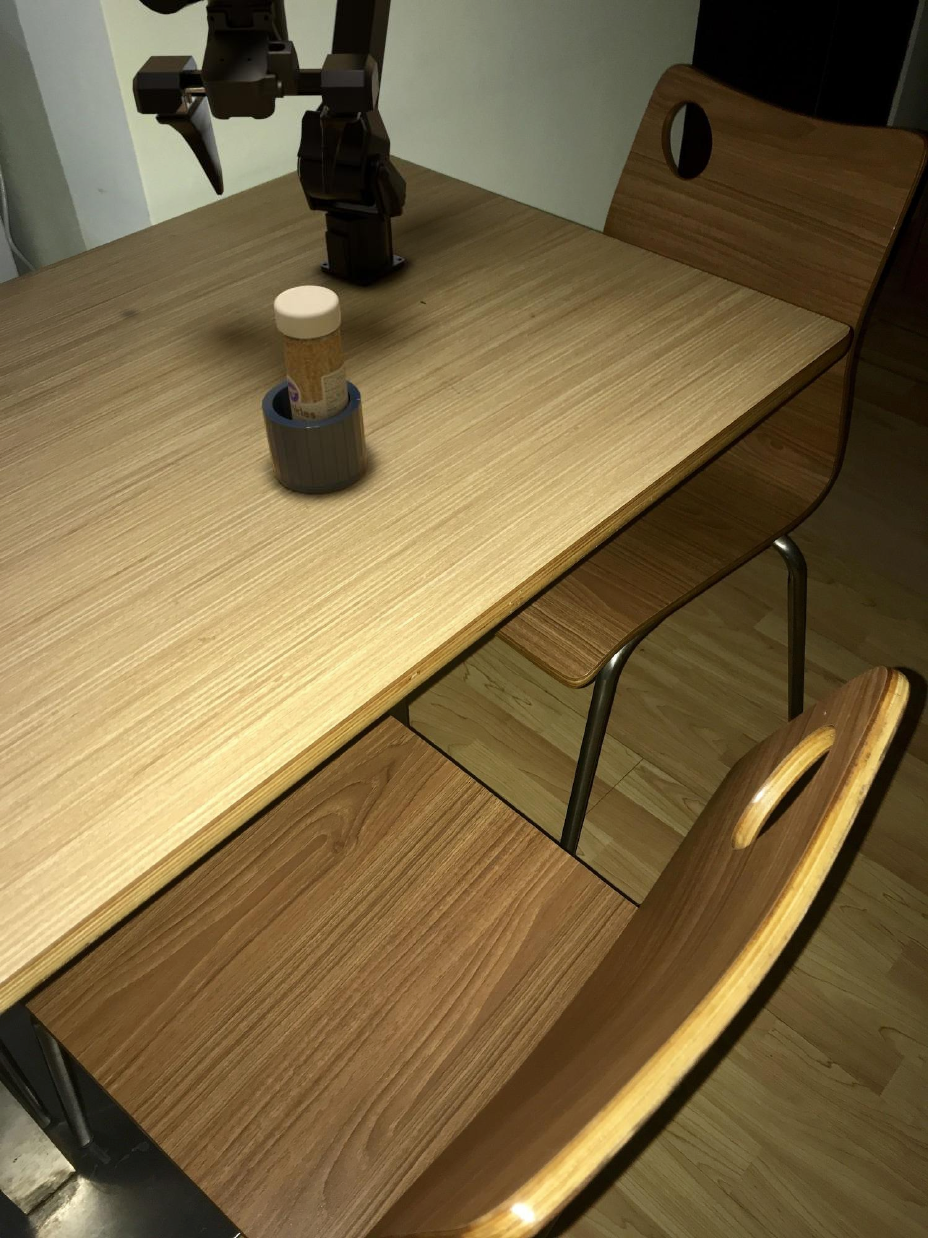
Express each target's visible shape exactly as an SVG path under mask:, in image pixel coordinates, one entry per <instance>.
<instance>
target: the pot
mask: <svg viewBox="0 0 928 1238" xmlns="http://www.w3.org/2000/svg"><path fill="white" fill-rule="evenodd" d="M346 382H347V392H348V401H349V405H348V406H347V407H346V408H345V410H344V411H342V412H341V413H339V414H338V415H336V416H334V417H331V418H329V419H325V420H320V421H314V422H300V421H293V418H292V411H291V403H290V397H289V390H288V383H287V379H285V380H282V381H281V382H279V383H277V384H276V385H274V386H273V387H271V388H270V389H269V390H268V391H267V392H266V393H264V396H263V398H262V400H261V412H262V416H263V417H262V418H263V422H264V428H265V433H266V439H267V444H268V450H269V454H270V461H271V465H272V470H273V474H274V476H275V478H276V480H277V481H278V482H279V483H280V484H281V485H282V486H284V487H285V488H287V489H289V490H291V491H294V492H297V493H302V494H310V495H311V494H315V495H317V494H319V495H320V494H328V493H332V492H337V491H340V490H343V489H346V488H347V487H349V486H351V485H353V484H354V483H356V482H358V480H360V479H361V477H362V476H363V475H364V474H365V472H366V470H367V468H368V455H367V443H366V433H365V424H364V413H363V404H362V395H361V391H360V390H359V388H358V387H357V385H355V384H353V383H352V382H351V381H350V380H348V379H346Z"/></svg>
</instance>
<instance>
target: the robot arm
mask: <svg viewBox="0 0 928 1238" xmlns="http://www.w3.org/2000/svg"><path fill="white" fill-rule="evenodd" d="M138 1H139V2H140V3H141V4H142V5H143V6H144V7H145V8H147V9H149V10H150V11H152V12H155V13H157V14H160V15H163V16H165V15H167V16H168V15H174V14H177V13H179V12H181V11H183V10H185V9H188V8H190V7H192V6H195V5H197V4H199V3H201V2H204V1H205V0H138ZM206 2H207V4H206V5H205V11H206V21H207V37H206V44H205V49H204V54H203V58H202V59H203V60H202V64H201V65H202V66H201V68H200V69H198V64H197V62H196V60H195V58H194V56H193V55H150V57H149V58H148V59H147V60H146V61H145V62H144V63H143V65H142V66H141V67H140V68H139V69H138V71H137V72H136V74H135V75H134V76H133V77H132V95H133V98H134V99H133V100H134V103H135V107H136V111H137V113H138V114H141V115H155V117H154V118H155V120H156V122H157V123H158V124H159V125H168V126H170V127H171V128H173V129H174V130H175V131H176V132H177V133H179V134H180V135H181V137H182V138H183V140H184V141H185V142H186V144H187V145H188V147H189V148H190V149H191V151H192V153H193V154H194V156H195V159H197V162H198V163H199V165H200V167H201V169H202V171H203V172H204V174H205V176H206V177H207V179H208V182H209V183H210V185H211V186H212V188H213V190H214V192H215V193H216V195H217V196H223V194H224V192H225V185H224V177H223V168H222V165H221V164H222V163H221V159H220V154H219V150H218V145H217V141H216V136H215V132H214V127H213V123H212V117H213V118H215V119H216V120H223V121H228V120H230V119H231V118H252V119H253V120H266V119H269V118H271V116H273V115H274V113H275V111H276V101H277V99H284V97H321V102H320V103H319V105H318V106H317V107H316V108H315V110H311V109H310V110H309V109H306V110H305V111H304V114H303V116H302V118H301V127H300V141H299V146H298V151H297V153H296V158H297V162H296V170H297V176H298V180H299V182H300V185H301V188H302V190H303V194H304V197H305V199H306V202H307V205H308V208H309V210H310V211H313V212H316V211H319V212H324V216H325V226H326V231H325V232H324V235H325V236H324V237H325V246H326V255H327V260H325V261H323V262H321V263H320V265H319V267H320V270H321V271H323V272H326V273H329V274H331V275H334V276H337V277H340V278H343V279H345V280H348V281H350V282H353V283H356V284H358V285H361V286H367V285H369V284H371V283H373V282H375V281H377V280H379V279H380V278H382V277H384V276H386V275H388V274H390V273H391V272H394V271H395V270H397V269H399V268H400V267H403V266H404V265H405V264H406V259H405V258H404V257H402V256H398V255H395V254H394V243H393V229H392V218H393V219H394V218H396V217H397V218H398V217H401V216H402V215H403V214H404V210H403V207H404V206H405V204H406V198H407V181H406V180H405V179H404V178H403V176H402V175H401V174H400V172H399V171H398V169H397V168H396V167H395V166H394V163H392V161H391V159H390V158H391V157H390V156H391V138H390V136H389V134H388V131H387V128H386V126H385V123H384V120H383V117H382V115H381V113H380V112H381V111H380V110H379V102H380V101H379V100H380V93H381V86H382V85H381V84H382V77H383V70H384V61H385V59H384V58H385V52H386V45H387V44H386V43H387V35H388V30H389V29H388V28H389V20H390V19H389V18H390V11H391V3H392V0H336V1H335V11H334V19H333V29H332V39H331V46H330V47H331V48H330V53H327V55H326V57H325V59H324V62H323V64H322V67H321V68H300V62H299V58H298V56H299V55H298V53H297V50H296V47H295V45H294V41H293V40H290V36H289V29H288V22H287V21H288V20H287V15H286V14H287V13H286V5H285V4H286V3H285V0H206ZM211 116H212V117H211Z"/></svg>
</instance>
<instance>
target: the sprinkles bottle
mask: <svg viewBox="0 0 928 1238" xmlns="http://www.w3.org/2000/svg"><path fill="white" fill-rule="evenodd" d="M340 306H341V305H340V300H339V296H338V295H337V294H336V292H334V291H333V290H331V289H329V288H327V287H324V286H320V285H300V286H295V287H293V288H289V289H286V290H284V291H282V292H281V293H280V294H278V296H276V298H275V299H274V302H273V309H274V318H275V324H276V328H277V329H278V331H279V334H280V336H281V343H282V350H283V356H284V357H283V359H284V363H285V370H286V380H287V383H288V390H289V397H290V403H291V411H292V418H293V421H300V422H314V421H320V420H325V419H329V418H331V417H334V416H336V415H338V414H339V413H341V412H342V411H344V410H345V408H346V407H347V406H348V405H349V401H348V392H347V382H346V380H347V375H346V373H347V372H346V365H345V359H344V353H343V344H342V338H341V336H342V335H341V323H342V314H341V307H340Z"/></svg>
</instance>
